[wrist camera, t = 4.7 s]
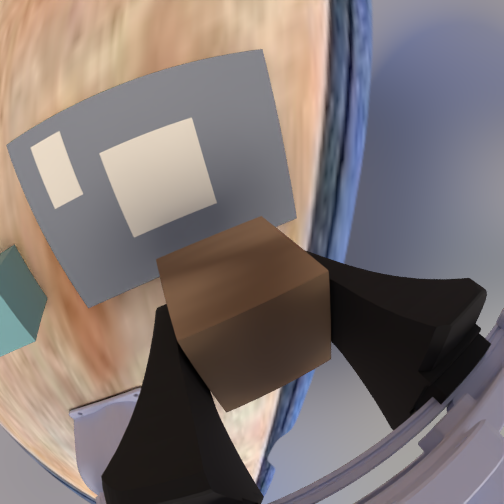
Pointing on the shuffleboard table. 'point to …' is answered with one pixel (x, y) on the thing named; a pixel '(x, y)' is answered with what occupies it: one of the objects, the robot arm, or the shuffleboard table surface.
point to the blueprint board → (155, 169)
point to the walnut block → (248, 310)
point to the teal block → (18, 302)
